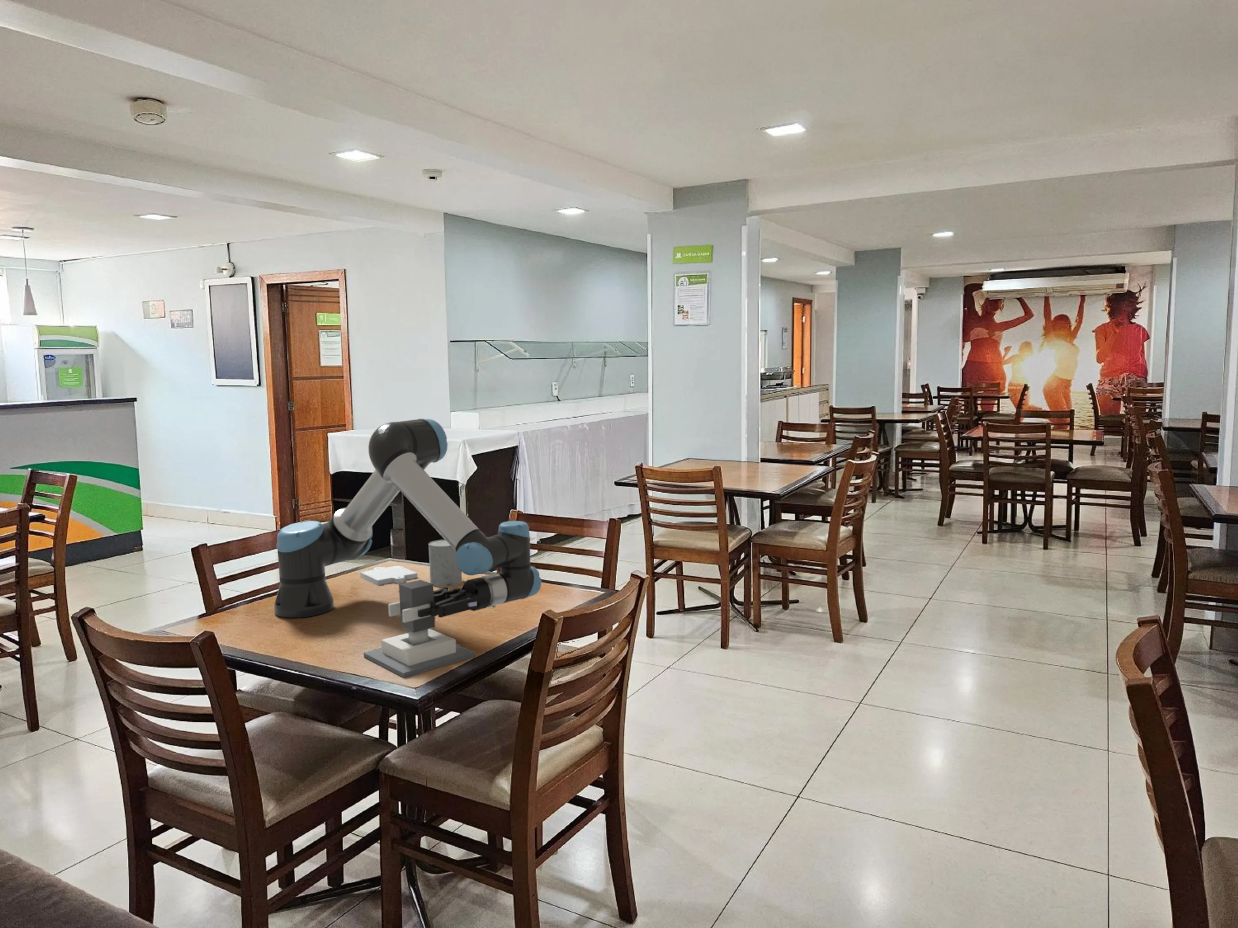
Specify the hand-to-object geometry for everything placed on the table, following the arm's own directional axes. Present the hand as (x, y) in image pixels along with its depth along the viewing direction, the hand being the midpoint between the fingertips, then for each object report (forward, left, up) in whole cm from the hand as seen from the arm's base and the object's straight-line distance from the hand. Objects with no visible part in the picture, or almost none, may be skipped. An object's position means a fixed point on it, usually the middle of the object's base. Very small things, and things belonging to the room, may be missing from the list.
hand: (396, 613), depth 190 cm
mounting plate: (-31, +72, -12) cm, 79 cm away
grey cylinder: (-11, +67, -12) cm, 69 cm away
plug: (+3, +4, -8) cm, 10 cm away
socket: (+3, +4, -11) cm, 13 cm away
